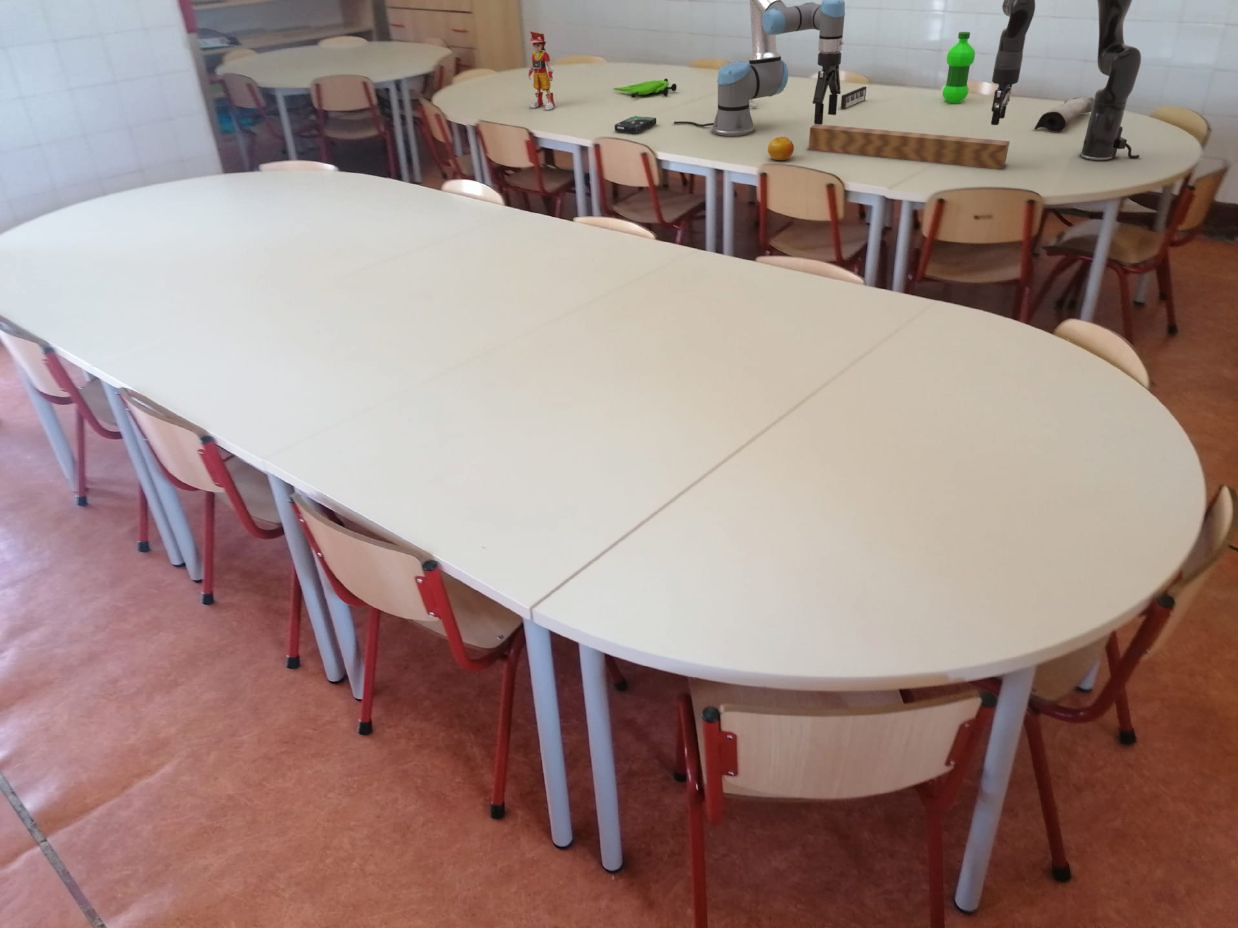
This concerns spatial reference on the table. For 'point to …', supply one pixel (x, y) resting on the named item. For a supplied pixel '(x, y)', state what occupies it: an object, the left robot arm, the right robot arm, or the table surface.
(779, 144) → the fruit
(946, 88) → the plastic bottle
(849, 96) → the midi keyboard
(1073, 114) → the rolled mat
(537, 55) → the toy
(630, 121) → the disk drive
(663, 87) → the toy
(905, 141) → the beam
